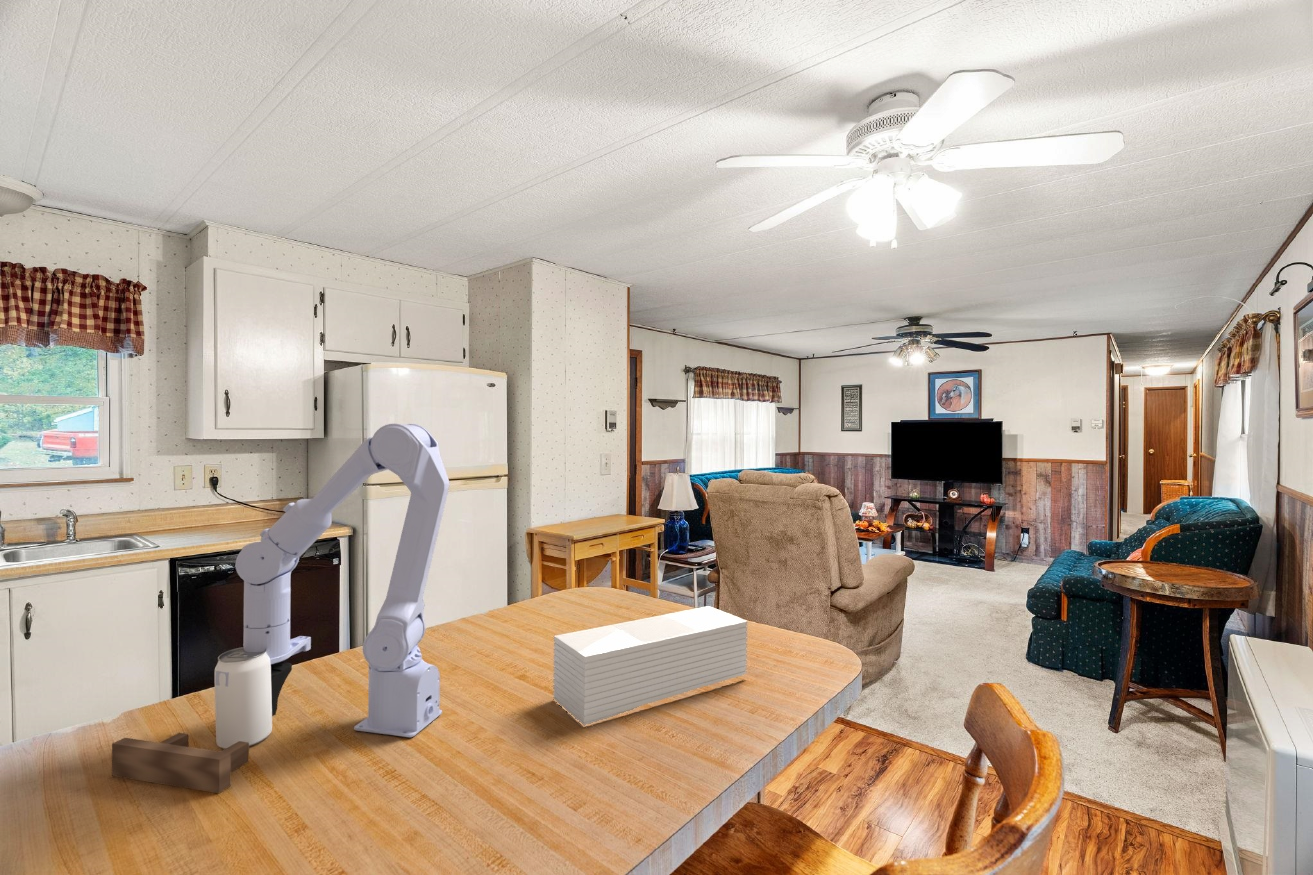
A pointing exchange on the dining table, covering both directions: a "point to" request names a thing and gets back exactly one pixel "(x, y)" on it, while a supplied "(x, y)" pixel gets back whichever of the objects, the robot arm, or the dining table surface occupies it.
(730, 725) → the dining table surface
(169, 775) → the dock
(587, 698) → the stack of papers
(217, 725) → the can
